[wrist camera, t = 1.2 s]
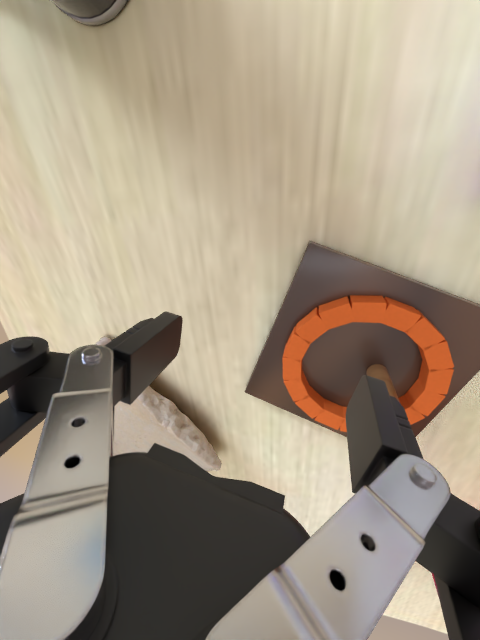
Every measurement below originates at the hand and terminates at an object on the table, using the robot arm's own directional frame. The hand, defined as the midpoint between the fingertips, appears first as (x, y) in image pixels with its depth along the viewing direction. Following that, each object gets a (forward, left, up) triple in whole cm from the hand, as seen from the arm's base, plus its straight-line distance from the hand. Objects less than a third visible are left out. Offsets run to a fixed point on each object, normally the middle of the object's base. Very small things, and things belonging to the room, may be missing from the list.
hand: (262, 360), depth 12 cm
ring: (+10, -7, -16) cm, 20 cm away
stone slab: (-12, -29, -17) cm, 36 cm away
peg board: (+10, -7, -17) cm, 21 cm away
